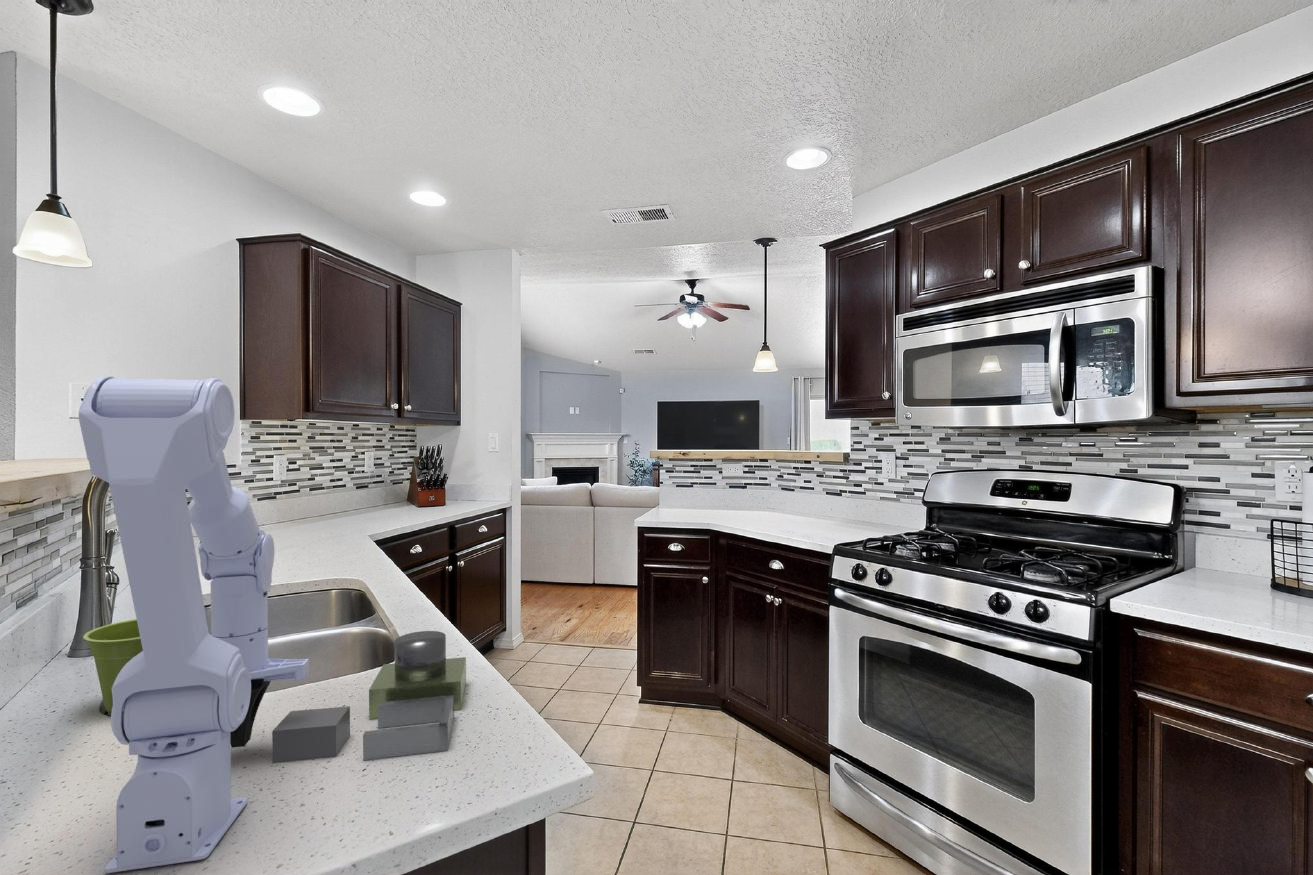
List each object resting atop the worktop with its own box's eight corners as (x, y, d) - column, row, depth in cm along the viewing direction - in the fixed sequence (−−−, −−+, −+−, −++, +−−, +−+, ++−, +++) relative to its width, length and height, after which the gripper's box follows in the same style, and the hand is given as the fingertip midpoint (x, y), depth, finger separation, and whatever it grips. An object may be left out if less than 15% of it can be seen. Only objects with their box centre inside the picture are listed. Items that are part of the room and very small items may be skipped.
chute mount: (453, 749, 76) (452, 676, 76) (347, 762, 73) (346, 685, 73) (466, 682, 97) (465, 625, 97) (383, 690, 94) (383, 631, 95)
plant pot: (64, 728, 83) (64, 644, 83) (109, 694, 94) (109, 620, 94) (170, 715, 87) (170, 634, 87) (201, 684, 98) (201, 612, 98)
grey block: (336, 758, 75) (336, 725, 75) (272, 764, 73) (272, 730, 73) (350, 737, 80) (349, 706, 80) (290, 742, 79) (290, 711, 79)
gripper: (316, 616, 81) (317, 721, 81) (187, 625, 77) (188, 735, 77) (297, 633, 74) (299, 747, 74) (156, 643, 70) (157, 763, 70)
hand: (240, 743), depth 75 cm, fingers closed
